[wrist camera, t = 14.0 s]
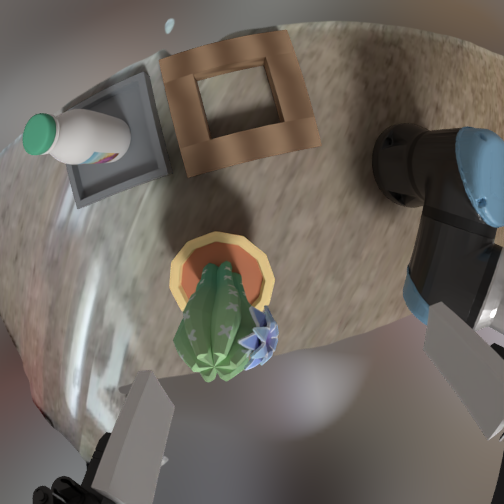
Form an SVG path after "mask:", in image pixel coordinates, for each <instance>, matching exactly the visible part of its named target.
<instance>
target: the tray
mask: <svg viewBox="0 0 504 504" xmlns="http://www.w3.org/2000/svg"><path fill="white" fill-rule="evenodd" d="M73 109H86V110H91V111H95V112H99V113H103V114H106V115H109V116H113V117H116V118H119V119H121V120H123V121H124V122H125V123H126V124H127V125H128V127H129V129H130V133H131V141H130V145H129V148H128V150H127V152H126V153H125V154H124V155H123V156H122V157H121V158H120V159H119V160H117V161H115V162H110V163H97V164H66V167H67V171H68V176H69V180H70V184H71V188H72V191H73V195H74V199H75V202H76V206H77V209H80V208H83V207H85V206H88V205H90V204H93V203H95V202H97V201H100V200H102V199H104V198H107V197H109V196H112V195H114V194H117V193H119V192H122V191H125V190H127V189H130V188H132V187H135V186H138V185H141V184H143V183H146V182H149V181H152V180H155V179H158V178H161V177H163V176H166V175H169V174H173V172H172V168H171V164H170V160H169V157H168V153H167V149H166V145H165V141H164V137H163V133H162V129H161V125H160V121H159V117H158V113H157V108H156V104H155V99H154V95H153V90H152V86H151V81H150V76H148V75H147V74H146V73H145V72H144V71H143V72H141V73H139V74H136V75H134V76H132V77H129V78H127V79H125V80H123V81H121V82H119V83H116V84H114V85H112V86H110V87H108V88H106V89H104V90H102V91H100V92H99V93H97V94H95V95H93V96H91V97H89V98H88V99H86V100H84V101H82V102H80V103H79V104H77V105H75V106H74V107H72V108H70V109H69V110H73ZM69 110H67V111H69Z"/></svg>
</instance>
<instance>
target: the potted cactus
mask: <svg viewBox="0 0 504 504" xmlns="http://www.w3.org/2000/svg"><path fill="white" fill-rule="evenodd" d="M274 282H275V278H274V275H273V273H272V270H271V267H270V264H269V261H268V259H267V256H266V254H265V253H263V252H262V251H261V250H260V249H258V248H257V247H256V246H255V245H254V244H252V243H251V242H250V241H249V240H247V239H246V238H245V237H244V236H241V235H235V234H229V233H223V232H217V231H214V232H212V233H209V234H206V235H203V236H201V237H198V238H195V239H193V240H190V241H187V243H186V244H185V245H184V246H183V248H182V249H181V250H180V252H179V253H178V254H177V256H176V257H175V258H174V259H173V261H172V262H171V272H170V286H169V288H170V290H171V292H172V294H173V296H174V298H175V300H176V301H177V303H178V305H179V307H180V309H181V310H182V311H183V317H184V318H183V320H182V321H181V323H180V326H179V328H178V330H177V333H176V335H175V337H174V339H173V341H174V344H175V347H176V350H177V352H178V354H179V356H180V357H181V358H182V359H183V361H184V362H185V363H186V364H187V365H188V366H189V367H190V369H191V370H192V371H194V372H200V374H201V375H202V377H203V379H204V380H205V381H206V382H210V381H212V380H214V379H215V376H216V373H218V375H219V376H220V378H221V379H223V380H225V381H228V380H230V379H232V378H233V377H234V376H236V375H237V374H238V373H240V372H241V371H243V370H244V369H245V370H248V369H251V368H253V367H255V366H256V365H258V364H259V363H260V364H261V365H263V364H264V363H265V362H266V361H268V360H269V359H270V358H271V356H272V355H273V351H275V349H276V345H277V342H278V338H277V336H278V334H279V333H278V325H277V323H276V321H275V320H274V319H273V317H272V315H271V313H270V311H269V309H268V305H269V303H270V299H271V295H272V290H273V286H274ZM264 309H265V312H264V313H263V312H262V311H263V310H264ZM253 351H254V352H253ZM252 352H253V353H252ZM251 353H252V354H251ZM250 354H251V355H250ZM249 355H250V356H251V359H250V360H249V362H248V356H249Z"/></svg>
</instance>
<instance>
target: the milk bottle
mask: <svg viewBox="0 0 504 504" xmlns="http://www.w3.org/2000/svg"><path fill="white" fill-rule="evenodd" d="M130 141H131V133H130V129H129V127H128V125H127V124H126V123H125V122H124V121H123V120H121V119H119V118H116V117H113V116H109V115H106V114H103V113H99V112H95V111H91V110H86V109H73V110H69V111H66V112H64V113H62V114H60V115H59V116H56V117H55V116H54V115H49V114H44V113H40V114H36V115H34V116H33V117H32V118H31V119H30V120H29V121H28V123H27V124H26V126H25V129H24V133H23V146H24V149H25V151H26V152H27V153H29V154H31V155H44V154H47V153H49V154H51V155H52V156H53V157H54V158H55V159H57V160H58V161H60V162H62V163H66V164H97V163H110V162H115V161H117V160H119V159H120V158H121V157H122V156H123V155H124V154H125V153H126V152H127V150H128V148H129V145H130Z"/></svg>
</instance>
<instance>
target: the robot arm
mask: <svg viewBox="0 0 504 504" xmlns="http://www.w3.org/2000/svg"><path fill="white" fill-rule="evenodd" d="M372 165H373V172H374V176H375V179H376V182H377V184H378V186H379V188H380V189H381V191H382V192H383V194H384V195H385V196H386V197H387V198H388V199H390V200H391V201H393V202H394V203H396V204H399V205H402V206H405V207H412V208H415V207H421V206H423V211H422V215H421V220H420V224H419V229H418V234H417V238H416V242H415V246H414V249H413V253H412V257H411V260H410V263H409V265H408V267H407V276H406V280H405V284H404V287H403V297H404V300H405V302H406V305H407V307H408V308H409V310H410V311H411V312H412V313H413V314H414V316H415V317H416V318H418V319H419V320H420V321H421V322H422V323H424V324H425V325H427V329H426V336H425V342H424V348H423V351H424V352H425V353H426V354H427V355H428V357H429V358H430V359H431V361H432V362H433V363H434V365H435V366H436V367H437V369H438V370H439V371H440V372H441V374H442V375H443V376H444V378H445V379H446V380H447V382H448V383H449V385H450V386H451V387H452V389H453V390H454V391H455V392H456V394H457V395H458V397H459V398H460V400H461V401H462V403H463V404H464V405H465V407H466V408H467V410H468V411H469V413H470V414H471V416H472V417H473V419H474V420H475V422H476V423H477V425H478V426H479V428H480V429H481V431H482V432H483V434H484V436H485V437H486V439H487V440H489V439H491V438H492V437H493V436H494V435H496V434H497V433H498V432H500V431H501V429H502V428H503V427H504V348H503V347H502V346H499V345H497V344H495V343H494V344H492V345H491V346H489V345H488V344H487V343H486V342H485V341H484V340H483V339H482V338H481V337H480V336H479V335H478V334H477V333H476V332H475V331H478V330H480V329H482V328H484V327H490V328H492V329H494V330H496V331H498V332H499V333H501V334H503V335H504V247H501V246H499V245H497V244H495V243H494V239H495V235H496V231H497V228H499V227H502V226H504V141H503V140H502V139H501V138H500V137H499V136H498V135H497V134H496V133H494V132H493V131H490V130H488V129H481V128H473V127H468V126H467V127H463V128H454V129H442V130H432V131H430V130H427V129H425V128H423V127H420V126H418V125H415V124H410V123H403V124H397V125H393V126H391V127H389V128H387V129H386V130H385V131H384V132H383V133H382V134H381V135H380V136H379V138H378V140H377V142H376V144H375V147H374V151H373V157H372ZM174 408H175V406H174V405H173V403H172V402H171V400H170V399H169V397H168V396H167V394H166V393H165V391H164V389H163V388H162V386H161V384H160V383H159V381H158V380H157V378H156V376H155V375H154V373H153V371H152V370H145V371H138V373H137V375H136V377H135V380H134V382H133V384H132V386H131V389H130V391H129V393H128V395H127V398H126V400H125V402H124V404H123V407H122V409H121V412H120V414H119V416H118V419H117V421H116V423H115V426H114V428H113V431H112V433H107V432H106V433H105V434H104V435H103V436H102V438H101V439H100V440H99V442H98V444H97V446H96V449H95V450H96V451H94V454H93V456H92V457H93V459H91V461H90V464H89V466H88V469H87V471H86V474H85V477H84V479H83V482H82V484H81V486H80V485H79V484H77V483H76V482H75V481H74V480H72V479H71V478H69V477H66V476H62V477H59V478H57V479H56V480H55V481H54V483H53V484H52V487H51V490H50V489H49V488H48V487H46V486H40V487H38V488H37V489H35V491H34V493H33V504H152V503H153V499H154V494H155V489H156V485H157V479H158V475H159V471H160V466H161V462H162V458H163V453H164V449H165V445H166V441H167V436H168V432H169V428H170V424H171V420H172V416H173V412H174ZM503 438H504V433H503V434H502V436H501V437H500V440H499V441H502V439H503ZM491 504H504V452H503V458H502V463H501V468H500V473H499V477H498V481H497V485H496V489H495V492H494V495H493V499H492V502H491Z"/></svg>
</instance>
